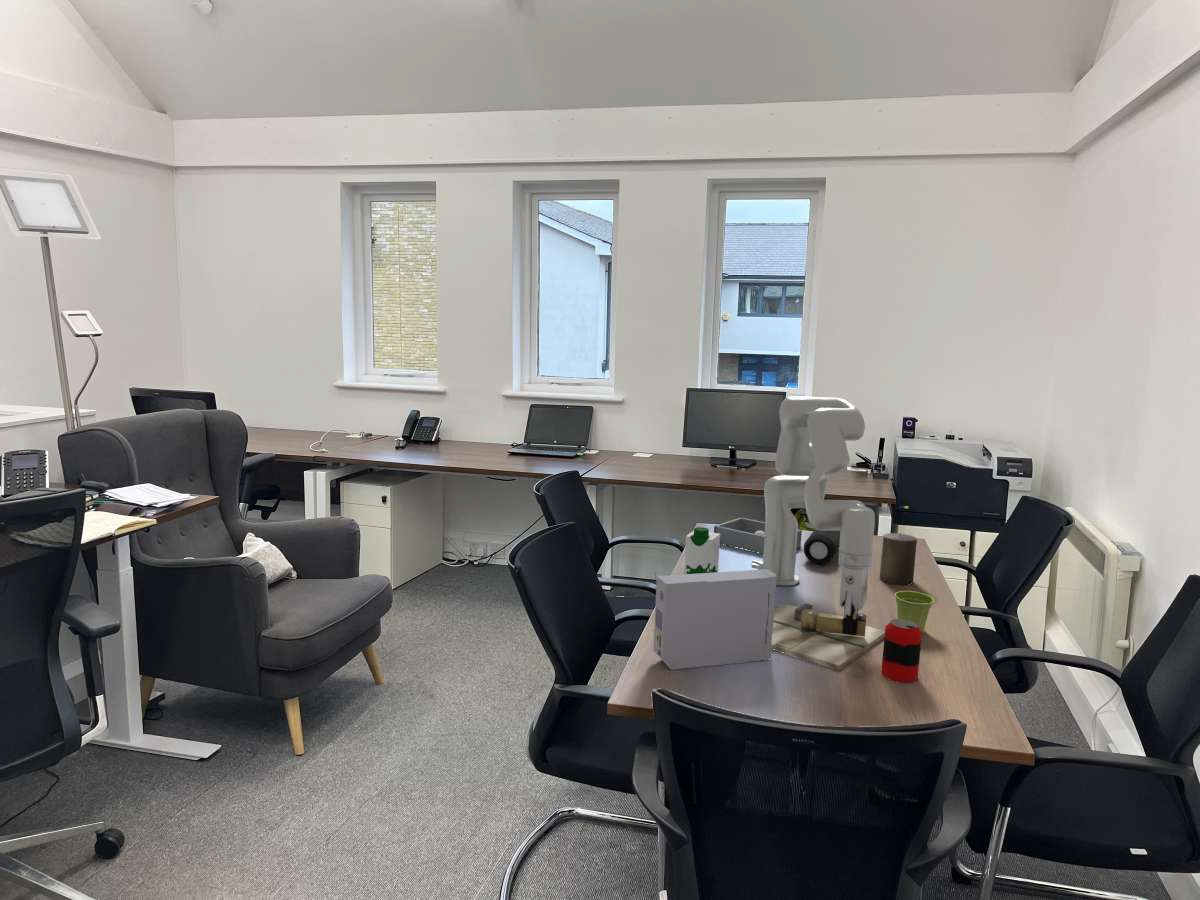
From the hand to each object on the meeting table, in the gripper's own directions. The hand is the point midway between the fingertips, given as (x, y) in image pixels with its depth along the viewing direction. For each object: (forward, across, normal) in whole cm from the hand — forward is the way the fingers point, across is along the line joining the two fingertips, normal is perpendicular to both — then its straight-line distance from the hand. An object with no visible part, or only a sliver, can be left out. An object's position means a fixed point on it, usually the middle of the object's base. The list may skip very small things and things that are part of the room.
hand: (849, 633), depth 195 cm
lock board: (+3, +1, +10) cm, 10 cm away
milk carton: (+2, +14, +43) cm, 45 cm away
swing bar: (+1, +3, +4) cm, 5 cm away
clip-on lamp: (+1, +73, +45) cm, 86 cm away
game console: (+4, -25, +25) cm, 36 cm away
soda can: (+4, -11, -13) cm, 18 cm away
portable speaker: (+2, +75, +22) cm, 78 cm away
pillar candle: (+2, +61, -3) cm, 61 cm away
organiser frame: (+1, +76, +45) cm, 88 cm away
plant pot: (+3, +20, -12) cm, 23 cm away
